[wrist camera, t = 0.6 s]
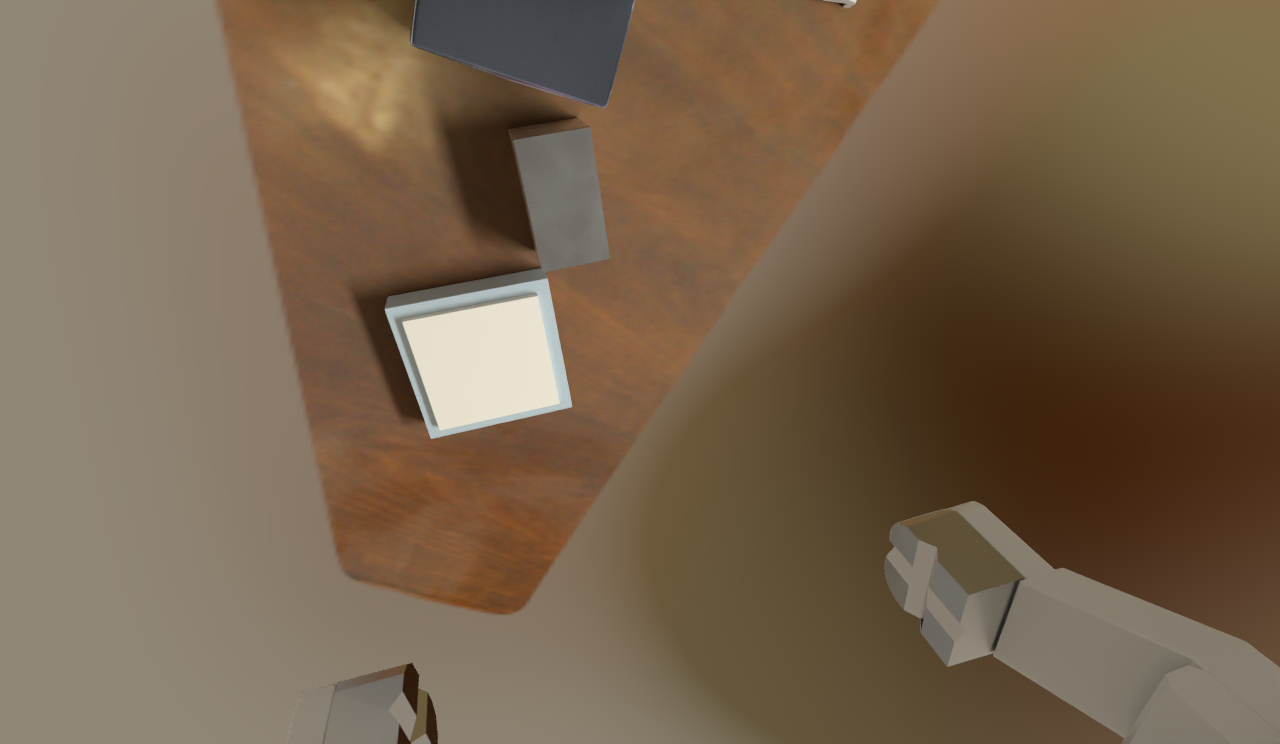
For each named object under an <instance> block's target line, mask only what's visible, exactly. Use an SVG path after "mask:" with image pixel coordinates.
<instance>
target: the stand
mask: <svg viewBox="0 0 1280 744" xmlns="http://www.w3.org/2000/svg"><path fill="white" fill-rule="evenodd" d="M385 312H386V315H387V318H388V320H389V323H390V326H391V329H392V332H393V334H394V337H395V340H396V343H397V345H398V348H399V351H400V354H401V357H402V359H403V362H404V365H405V368H406V370H407V373H408V376H409V379H410V382H411V384H412V387H413V390H414V393H415V395H416V398H417V401H418V404H419V407H420V409H421V412H422V415H423V418H424V420H425V423H426V426H427V429H428V432H429V434H430V437H431V439H433V438H437V437H441V436H446V435H450V434H455V433H459V432H464V431H468V430H472V429H477V428H481V427H486V426H490V425H494V424H499V423H503V422H508V421H512V420H517V419H521V418H525V417H530V416H534V415H539V414H543V413H548V412H552V411H556V410H561V409H565V408H570V407H572V402H571V397H570V392H569V387H568V382H567V377H566V371H565V366H564V361H563V356H562V351H561V346H560V340H559V335H558V330H557V325H556V320H555V315H554V309H553V304H552V299H551V294H550V289H549V284H548V278H547V275H546V272H542V271H541V268H539V269H534V270H529V271H523V272H518V273H512V274H507V275H502V276H496V277H491V278H485V279H480V280H475V281H469V282H464V283H458V284H453V285H447V286H442V287H437V288H431V289H426V290H420V291H415V292H410V293H404V294H399V295H393V296H388V298H387V302H386V305H385Z"/></svg>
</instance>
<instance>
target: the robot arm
mask: <svg viewBox="0 0 1280 744" xmlns="http://www.w3.org/2000/svg"><path fill="white" fill-rule="evenodd" d="M889 540H890V541H891V542H892V543H893V544H894V546H895V547H894V548H893V549H892V550H891V552H890V553H889V554H888V555H887V557H886V562H885V570H884V571H885V574H886V578H887V582H888V586H889V588H890V590H891V592H892V593H893V595H894V597H895V599H896V600H897V601H898V603H899V604H900V605H901V606H902V608H903V610H905V611H907V612H909V613H911V614H913V615H914V616H916V617H918V618H920V625H921V633H922V634H923V636H924V637H925V638H926V640H927V641H928V642H929V644H930V645H931V646H932V648H933V649H934V650H935V651H936V653H937V654H938V655H939V657H940V658H941V659H942V661H943V662H944V663H945V664H946V666H947V667H948V666H952V665H955V664H958V663H962V662H965V661H969V660H972V659H975V658H979V657H981V656H985V655H988V654H992V653H994V655H993V656H994V657H995V658H997V659H999V660H1000V661H1002V662H1004V663H1005V664H1007V665H1008V666H1010V667H1011V668H1013V669H1015V670H1016V671H1018V672H1019V673H1021V674H1023V675H1024V676H1026V677H1027V678H1029V679H1031V680H1032V681H1034V682H1035V683H1037V684H1039V685H1040V686H1042V687H1043V688H1045V689H1047V690H1048V691H1050V692H1051V693H1053V694H1055V695H1056V696H1058V697H1060V698H1061V699H1063V700H1064V701H1066V702H1068V703H1069V704H1071V705H1072V706H1074V707H1075V708H1077V709H1079V710H1080V711H1082V712H1083V713H1085V714H1087V715H1088V716H1090V717H1091V718H1093V719H1095V720H1096V721H1098V722H1100V723H1101V724H1103V725H1104V726H1106V727H1108V728H1109V729H1111V730H1112V731H1114V732H1116V733H1117V734H1119V735H1120V736H1122V737H1123V738H1125V739H1124V741H1123V742H1122V744H1280V668H1279V667H1278V666H1276V665H1275V664H1274V663H1273V662H1271V661H1270V660H1269V659H1268V658H1266V657H1265V656H1264V655H1262V654H1261V653H1260V652H1258V651H1257V650H1256V649H1255V648H1253V647H1252V646H1251V645H1250V644H1248V643H1247V642H1245V641H1243V640H1240V639H1238V638H1235V637H1233V636H1230V635H1228V634H1225V633H1223V632H1220V631H1218V630H1215V629H1213V628H1210V627H1208V626H1206V625H1203V624H1201V623H1198V622H1196V621H1193V620H1191V619H1188V618H1186V617H1183V616H1181V615H1178V614H1176V613H1173V612H1171V611H1168V610H1166V609H1163V608H1161V607H1158V606H1156V605H1154V604H1151V603H1149V602H1146V601H1144V600H1141V599H1139V598H1136V597H1134V596H1131V595H1129V594H1126V593H1124V592H1121V591H1119V590H1116V589H1114V588H1111V587H1109V586H1106V585H1104V584H1102V583H1099V582H1097V581H1094V580H1092V579H1089V578H1087V577H1084V576H1082V575H1079V574H1076V573H1074V572H1072V571H1069V570H1067V569H1064V568H1060V569H1057V570H1054V569H1053V568H1052V567H1051V566H1050V565H1049V564H1048V563H1047V562H1045V561H1044V560H1043V559H1042V558H1041V557H1040V556H1039V555H1038V554H1037V553H1036V552H1035V551H1033V550H1032V549H1031V548H1030V547H1029V546H1028V545H1027V544H1026V543H1025V542H1023V541H1022V540H1021V539H1020V538H1019V537H1018V536H1017V535H1016V534H1014V533H1013V532H1012V531H1011V530H1010V529H1009V528H1008V527H1007V526H1006V525H1005V524H1003V523H1002V522H1001V521H1000V520H999V519H998V518H997V517H996V516H995V515H993V514H992V513H991V512H990V511H989V510H988V509H987V508H986V507H985V506H983V505H982V504H979V503H977V502H975V501H973V502H968V503H965V504H961V505H958V506H955V507H951V508H948V509H942V510H938V511H935V512H932V513H928V514H925V515H922V516H919V517H915V518H912V519H909V520H905V521H902V522H899V523H896V524H895V525H894V526H893V527H892V528H891V532H890V537H889ZM418 687H419V674H418V672H417V670H416V669H415V667H414V665H413V663H409V664H405V665H401V666H398V667H393V668H390V669H386V670H382V671H378V672H374V673H371V674H367V675H363V676H359V677H355V678H352V679H348V680H344V681H340V682H336V683H332V684H329V685H326V686H322V687H319V688H315V689H311V690H308V691H304V692H303V693H302V695H301V697H300V698H299V700H298V702H297V704H296V705H295V709H294V713H293V717H292V720H291V725H290V728H289V733H288V736H287V741H286V744H438V730H437V721H436V713H435V710H434V706H433V703H432V700H431V698H430V696H429V694H428V692H426V691H424V690H421V689H419V688H418Z"/></svg>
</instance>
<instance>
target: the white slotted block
mask: <svg viewBox="0 0 1280 744" xmlns="http://www.w3.org/2000/svg"><path fill="white" fill-rule="evenodd" d="M823 1H830V2H838V3H844V4H843V7H845V8H850V7H851V6H853V5H854V4H855V2H856V0H823Z"/></svg>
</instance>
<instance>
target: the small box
mask: <svg viewBox="0 0 1280 744" xmlns="http://www.w3.org/2000/svg"><path fill="white" fill-rule="evenodd" d="M634 3H635V0H415V3H414V12H413V18H412V28H411V36H410V42H411V45H412V46H414V47H417V48H419V49H422V50H425V51H427V52H430V53H433V54H436V55H438V56H441V57H444V58H447V59H449V60H452V61H455V62H458V63H461V64H464V65H466V66H469V67H472V68H475V69H478V70H481V71H484V72H487V73H489V74H492V75H495V76H498V77H501V78H503V79H506V80H509V81H512V82H516V83H519V84H522V85H526V86H529V87H533V88H536V89H539V90H542V91H545V92H549V93H552V94H555V95H558V96H562V97H565V98H568V99H572V100H575V101H579V102H582V103H586V104H590V105H594V106H598V107H601V108H605V107H606V106H607V104H608V100H609V97H610V94H611V90H612V87H613V83H614V80H615V75H616V72H617V68H618V65H619V61H620V57H621V53H622V49H623V45H624V42H625V38H626V34H627V31H628V27H629V23H630V19H631V15H632V11H633V7H634Z"/></svg>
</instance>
